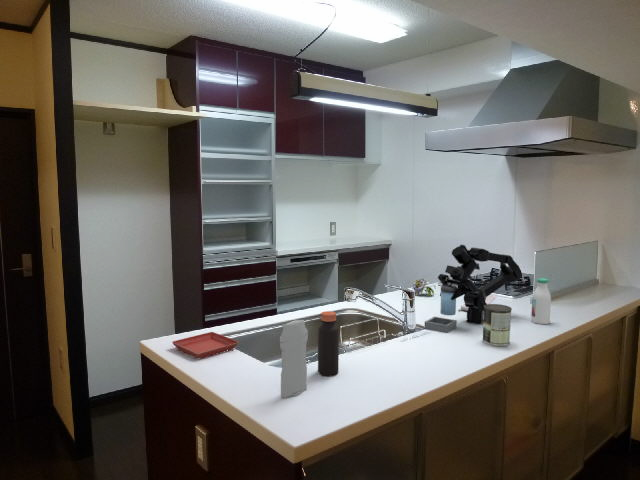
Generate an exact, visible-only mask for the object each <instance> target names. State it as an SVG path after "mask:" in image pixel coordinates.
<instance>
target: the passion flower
mask: <svg viewBox="0 0 640 480" xmlns="http://www.w3.org/2000/svg"><path fill="white" fill-rule="evenodd" d="M426 279H427V278H426V277H423V278H420V279H416V280H414V283H413V284H412V286H411V287H410V289H411V288H412V290H413V291H414V292H415V293H414V294H415V296H419V295H422V294H423V291H424V292H425V293H426V294H427V296H429V297H432V295H434V293H435V291H434V289H435V290H436V289H437V287H436V285H435V284H434V285H433V287H434V289H433V288H432V285H431V286H429V284H430V283H431V281H430V280H428V281H426Z"/></svg>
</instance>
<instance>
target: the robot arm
mask: <svg viewBox="0 0 640 480" xmlns="http://www.w3.org/2000/svg"><path fill="white" fill-rule="evenodd" d="M451 256H453V258H454V259H455V260H456V261H457V263H458V264H460V266H458V265H457V267H456V266H453V265H446V269H445V271H444V273H447V274H449V275H447V274H444V273H440V274H439V275H438V276H437V279H438V280H439V282H441V284H442V285H454V286H457V289H456V291H455V292H454V294H453V296H452V297H451V299H452V300H454V299H456V300H457V299H458V298H459V297H461V296H463V302H464V304H465V306H466V307H469V308H468V311H466V322H468V323H473V324H483V321H484V305H487V303H486V302H485V300H486V297H487V296H489V295H490V294H492V295H493V293H494V292H496V291H497V290H499V289H500V288H502V287H504V286H505V285H506V284H510V283H515V282H516V281H519V280H521V278H522V276H523V273H522V270H521V268H520V266H519V265H518V264H517V262H516V261H515V260H514V259H513V257H512V256H511V255H509V254H500V253H495V252H491V251H489V250H487V249H485V248H479V247H471V248H470V249H469V250H468V249H467V246H466V245H465V244H460V245H459V246H457V247H455V248H453V249H452V250H451ZM488 261H491V262H492V261H493V262H498V263H499V264H500V265H499V269H500V272H499V275H497V276H496V277H494V278H493V279H492V280H490V281H489V282H487V283H485V284H484V285H483V286H482V287H477V285H475V283H474V282H473V281H472V280H471V279H472V276H471V275H472V274H473V273H474V271H475V270H478V271H479V270H480V264H479V263H477V262H481V263H482V262H488ZM442 285H441V286H442ZM439 297H441V292H440V293H439Z"/></svg>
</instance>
